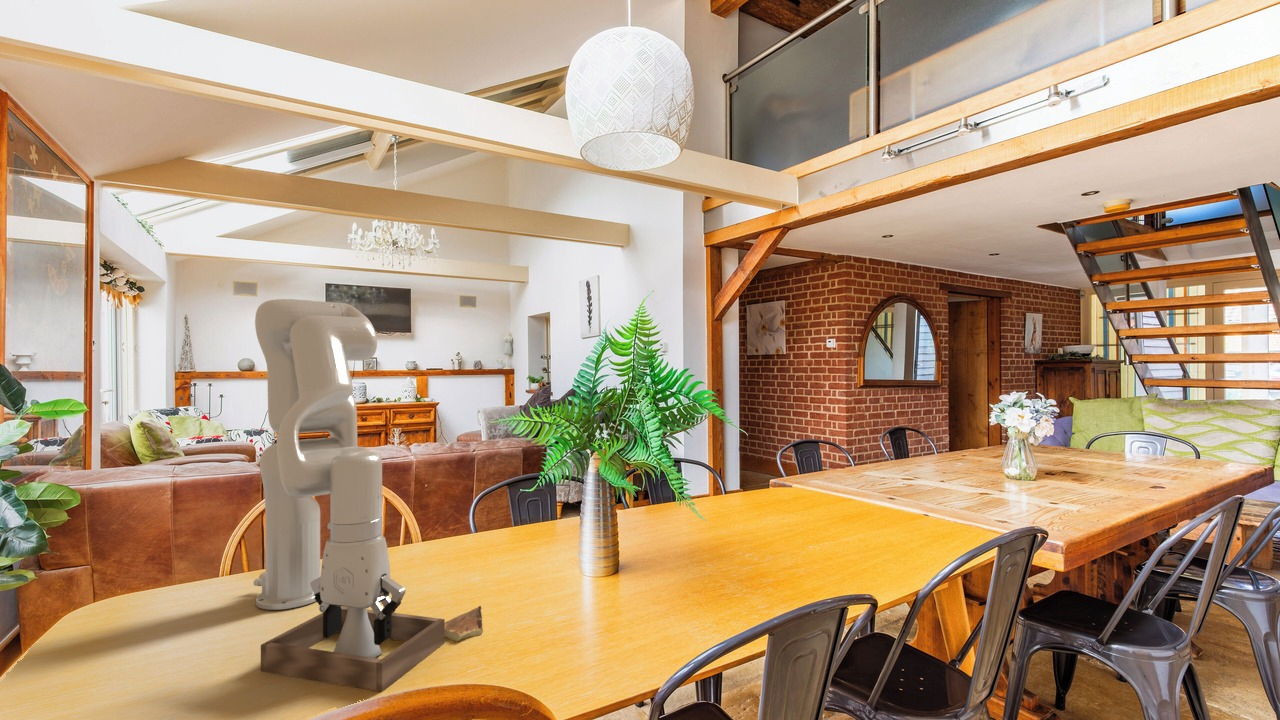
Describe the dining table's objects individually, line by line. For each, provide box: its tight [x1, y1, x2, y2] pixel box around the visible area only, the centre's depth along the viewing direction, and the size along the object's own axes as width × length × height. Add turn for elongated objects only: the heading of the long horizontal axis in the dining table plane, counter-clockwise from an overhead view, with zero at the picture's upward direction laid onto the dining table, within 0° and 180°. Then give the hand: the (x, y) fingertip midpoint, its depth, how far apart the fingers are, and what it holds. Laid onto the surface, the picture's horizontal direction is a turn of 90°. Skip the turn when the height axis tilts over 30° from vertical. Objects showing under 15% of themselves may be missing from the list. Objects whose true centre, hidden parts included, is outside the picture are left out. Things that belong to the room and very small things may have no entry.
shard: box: [445, 605, 484, 642], centre depth 103 cm, size 11×8×2 cm
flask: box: [332, 607, 382, 658], centre depth 93 cm, size 7×7×10 cm
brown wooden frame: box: [260, 606, 446, 693], centre depth 93 cm, size 22×15×4 cm
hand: (357, 637), depth 93 cm, fingers open, 9 cm apart
